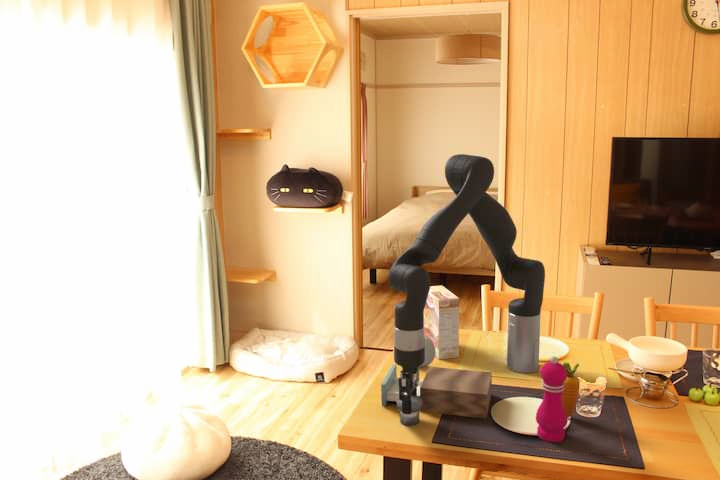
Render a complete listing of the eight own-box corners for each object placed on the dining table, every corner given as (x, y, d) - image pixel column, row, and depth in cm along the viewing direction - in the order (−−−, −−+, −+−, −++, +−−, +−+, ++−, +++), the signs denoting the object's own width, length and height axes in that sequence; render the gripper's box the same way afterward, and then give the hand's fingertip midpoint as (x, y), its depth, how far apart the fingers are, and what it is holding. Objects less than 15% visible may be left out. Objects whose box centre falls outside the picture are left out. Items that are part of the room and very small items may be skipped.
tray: (453, 390, 179) (453, 369, 178) (446, 412, 166) (446, 390, 165) (393, 384, 184) (392, 364, 183) (381, 405, 171) (381, 384, 170)
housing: (491, 394, 177) (491, 372, 175) (486, 418, 164) (487, 394, 162) (429, 388, 181) (429, 366, 180) (420, 411, 168) (420, 387, 167)
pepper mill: (567, 430, 157) (571, 352, 153) (566, 445, 150) (570, 364, 146) (536, 426, 159) (539, 349, 155) (534, 440, 152) (537, 360, 148)
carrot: (578, 415, 164) (581, 359, 161) (576, 424, 160) (579, 367, 157) (558, 411, 166) (561, 356, 163) (555, 420, 162) (558, 364, 159)
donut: (437, 366, 196) (437, 335, 194) (433, 370, 193) (433, 339, 191) (407, 361, 201) (407, 330, 199) (402, 365, 198) (402, 334, 196)
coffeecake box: (422, 343, 215) (422, 286, 211) (442, 341, 217) (442, 284, 213) (438, 360, 201) (438, 299, 197) (459, 357, 203) (460, 297, 199)
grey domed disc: (424, 402, 164) (424, 395, 164) (419, 413, 158) (419, 407, 158) (399, 399, 166) (399, 393, 166) (394, 411, 160) (394, 404, 160)
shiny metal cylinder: (420, 418, 164) (420, 403, 164) (417, 427, 160) (417, 412, 159) (402, 415, 166) (402, 401, 165) (398, 424, 161) (398, 409, 160)
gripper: (418, 356, 151) (419, 422, 154) (429, 335, 164) (429, 396, 168) (387, 353, 153) (388, 418, 156) (400, 332, 166) (401, 393, 170)
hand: (409, 406), depth 162 cm, fingers closed on grey domed disc, 6 cm apart
